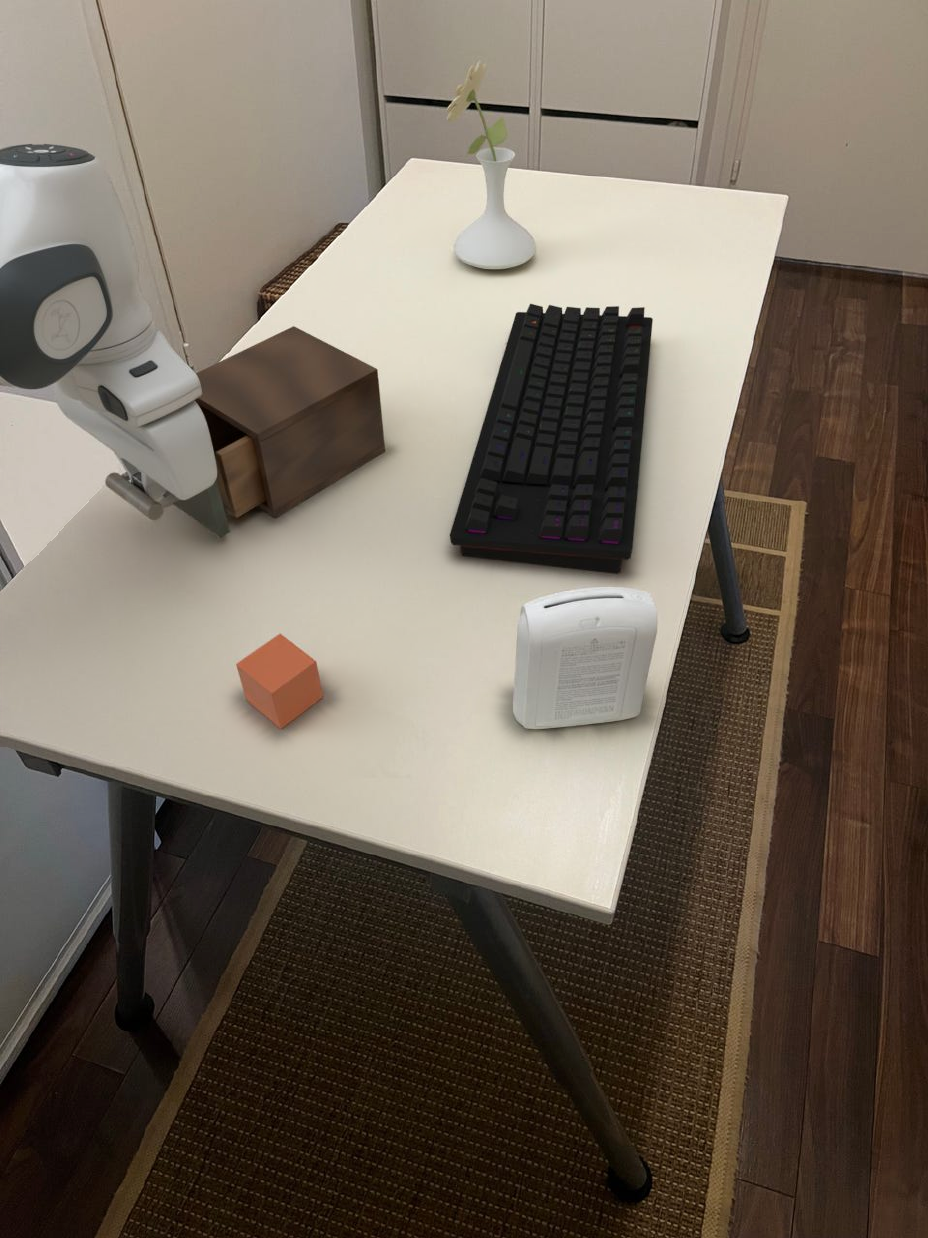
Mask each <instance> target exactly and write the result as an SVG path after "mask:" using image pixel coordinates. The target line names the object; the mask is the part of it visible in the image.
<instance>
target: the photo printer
mask: <svg viewBox="0 0 928 1238" xmlns="http://www.w3.org/2000/svg"><path fill="white" fill-rule="evenodd" d="M657 634H658V611H657V605H656V603H655V602H654V600H653V597H652V593H651V592H650V591H646V590H642V589H636V588H631V587H621V586H596V587H585V588H584V587H583V588H575V589H569V590H564V591H559V592H555V593H554V592H553V593H551V594H547V595H544V596H541V597H538V598H535V599H532V600H530V601H528V602H525V603H523V604H522V605H521V608H520V613H519V620H518V622H517V628H516V645H515V661H514V662H515V663H514V679H513V697H512V699H513V700H512V713H513V716H514V718H515V721H517V722H518V724H520V725H521V726H523V728H525V729H529V730H542V729H554V728H555V729H557V728H564V727H575V726H585V725H593V724H603V723H610V722H618V721H624V720H628V719H629V720H630V719H634V718H636V717H638V716H639V715H640V713H641V709H642V705H643V700H644V695H645V690H646V686H647V682H648V676H649V673H650V672H649V671H650V667H651V662H652V657H653V653H654V648H655V644H656V639H657Z"/></svg>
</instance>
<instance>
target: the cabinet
mask: <svg viewBox="0 0 928 1238" xmlns="http://www.w3.org/2000/svg"><path fill="white" fill-rule="evenodd" d="M195 373H196V375H197V376H198V378H199V381H200V384H201V388H202V395H201V396H200V397H198V398H197V399H195V401H196V403H198V404H199V405H201V406H202V407H204V408H206V409H207V410H209V411H210V412H212V413H214V414H215V415H217V416H218V417H220V418H222V419H223V420H225V421H226V422H228V423H230V424H231V425H233V426H234V427H236V428H238V429H239V430H241V431H242V432H244V433H246V434H247V435H249V436H250V437H252V438H254V443H255V448H256V453H257V457H258V462H259V467H260V471H261V476H262V481H263V485H264V490H265V495H266V499H267V500H266V501H265V502H263V503H261V504H259V505H258V506H257V507H258V508H259V509H261V511H264V512H265V513H267V514H268V515H269V516H271V517H273V518H274V519H277V518H278V517H280V516H282V515H283V514H286V513H287V512H288V511H290V510H291V509H293V508H295V507H296V506H298V505H299V504H302V503H303V502H305V501H307V500H308V499H309V498H311V497H313V496H315V495H316V494H318V493H320V492H321V491H323V490H324V489H326V488H327V487H330V486H331V485H332V484H335V483H336V482H338V481H339V480H341V479H343V478H344V477H345V476H347V475H349V474H351V473H353V472H354V471H355V470H357V469H359V468H361V467H362V466H364V465H365V464H367V463H368V462H371V461H372V460H374V459H375V458H377V457H378V456H380V455H382V454H384V453H385V452H386V448H385V447H386V446H385V434H384V423H383V413H382V403H381V402H382V401H381V391H380V390H381V389H380V380H379V371H378V369H377V368H376V367H375V366H373V365H370V364H368V363H367V362H365V361H362V360H361V359H359V358H357V357H355V356H353V355H351V354H350V353H348V352H345V351H343V350H341V349H339V348H338V347H336V346H334V345H332V344H329V343H327V342H326V341H324V340H322V339H320V338H318V337H316V336H314V335H312V334H310V333H308V332H306V331H304V330H302V329H300V328H298V327H297V326H295V325H292V326H290V327H289V328H287V329H284V330H283V331H281V332H278V333H277V334H275V335H272V336H270V337H268V338H266V339H264V340H262V341H260V342H258V343H255V344H253V345H252V346H250V347H246V348H245V349H243V350H241V351H239V352H237V353H235V354H233V355H231V356H229V357H227V358H224V359H222V360H220V361H218V362H216V363H214V364H212V365H210V366H208V367H206V368H204V369H202V370H200V371H198V372H195Z"/></svg>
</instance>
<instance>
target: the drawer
mask: <svg viewBox="0 0 928 1238" xmlns="http://www.w3.org/2000/svg"><path fill="white" fill-rule="evenodd" d="M197 404H198V403H197ZM198 405H199V404H198ZM199 407H200V409H201V410H202V412H203V415H204V417H205V420H206V422H207V426H208V429H209V433H210V437H211V442H212V446H213V451H214V455H215V460H216V466H217V478H216V480H215V482H214V484H213V485H212V486H210V487H209V488H207V489H206V490H204V491H202V492H201V493H199V494H197V495H195V496H193V497H191V498H189V499H187V500H181V499H179V498H177V497H176V496H175V495H173V494H172V493H171V492H169V491H168V490H166V492H165V494H164V495H162V496H161V497H162V499H160V500H158V501H157V500H156V499H155V500H154V499H152V498H151V497H150V496H148V495H147V494H146V493H144V492H143V491H142V490H140V489H139V488H138V487H136V486H135V485H133V484H132V483H131V481H130V478H129V475H128V473H127V472H126V471H125V472H123V473H122V474H120V473H118V472H116V471H115V472H110V473H109V474H107V476H106V478H105V480H104V481H105V482H104V483H105V486H106V487H107V488H108V489H109V490H111V492H112V491H113V492H114V493H115V494H116V495H118V496H119V497H120V498H122V500H124V501H125V502H127V503H128V504H129V505H131V506H132V507H133V508H134V509H136V510H137V511H139V512H140V513H141V514H143V516H145V517H147V518H148V519H149V520H151V521H156V520H159V519H160V518H161V517H162V516H163V514H164V510H165V509H167V508H168V507H170V506H172V505H174V506H175V507H177V508H178V509H180V510H181V511H182V512H184V513H185V514H186V515H187V516H190V517H191V518H192V519H193V520H194V521H196V522H197V523H199V524H200V525H202V526H203V527H204V528H206V529H207V530H209V531H210V532H211V533H212V534H214V535H215V536H217V537H218V538H220V539H221V538H222V537H224V536H226V535H227V534H229V533H230V531H231V529H230V526H229V523H228V519H227V518H228V517H227V515H226V512H227V513H228V514H229V515H231V516H232V517H233V518H235V519H238V518H240V517H241V516H242V515H244V514H246V513H248V512H250V511H251V510H253V509H255V508H256V507H258V505H259V504H261V503H263V502H265V501H266V500H267V499H266V495H265V490H264V485H263V481H262V476H261V471H260V467H259V462H258V457H257V453H256V448H255V443H254V438H252V437H250V436H249V435H247V434H246V433H244V432H242V431H241V430H239V429H238V428H236V427H234V426H233V425H231V424H230V423H228V422H226V421H225V420H223V419H222V418H220V417H218V416H217V415H215V414H214V413H212V412H210V411H209V410H207V409H206V408H204V407H202V406H201V405H199Z"/></svg>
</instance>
